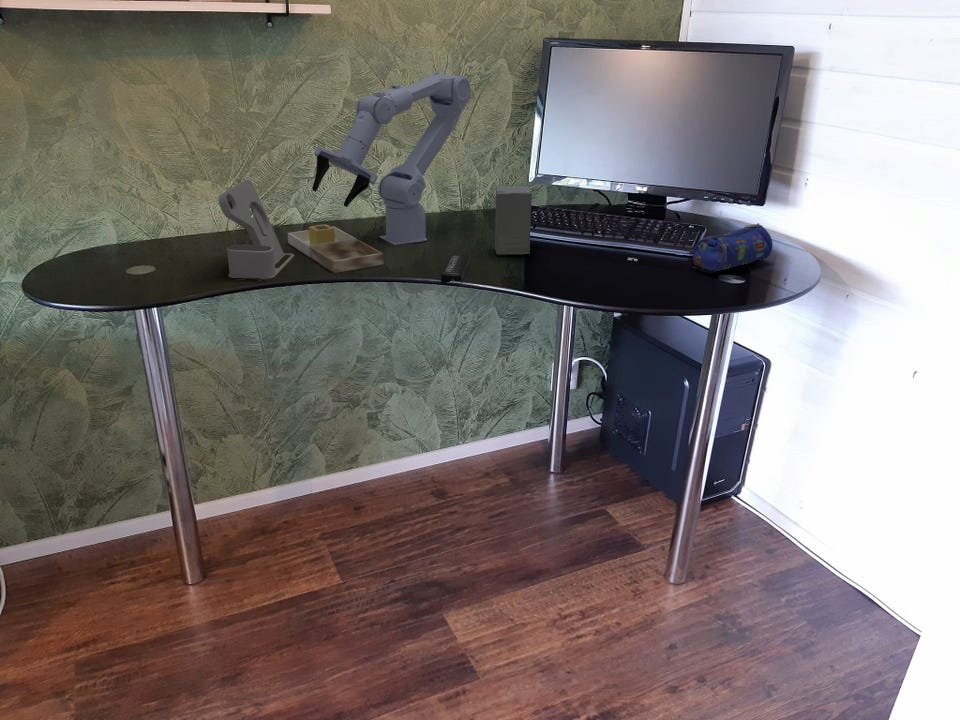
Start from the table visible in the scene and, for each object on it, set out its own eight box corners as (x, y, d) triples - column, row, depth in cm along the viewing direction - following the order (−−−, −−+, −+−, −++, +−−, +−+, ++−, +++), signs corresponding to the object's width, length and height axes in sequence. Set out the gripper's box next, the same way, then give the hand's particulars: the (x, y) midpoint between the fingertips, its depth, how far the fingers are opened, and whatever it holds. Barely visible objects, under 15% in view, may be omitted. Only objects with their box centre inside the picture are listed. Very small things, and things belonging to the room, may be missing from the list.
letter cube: (327, 242, 188) (326, 223, 186) (335, 247, 184) (334, 228, 182) (309, 244, 185) (308, 226, 183) (317, 249, 182) (316, 231, 180)
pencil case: (742, 254, 192) (749, 217, 188) (772, 263, 186) (780, 225, 182) (687, 270, 180) (693, 230, 175) (718, 281, 174) (725, 239, 169)
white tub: (334, 238, 193) (334, 226, 192) (357, 251, 184) (356, 238, 183) (288, 245, 186) (287, 233, 185) (309, 258, 177) (308, 246, 176)
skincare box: (527, 249, 190) (531, 184, 183) (529, 258, 183) (534, 191, 177) (493, 248, 190) (495, 183, 183) (494, 257, 183) (497, 190, 176)
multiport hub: (469, 264, 179) (469, 255, 178) (461, 286, 166) (461, 275, 165) (450, 263, 179) (450, 254, 178) (440, 284, 166) (440, 274, 165)
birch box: (358, 251, 183) (358, 239, 182) (383, 266, 174) (383, 253, 173) (310, 259, 177) (310, 247, 176) (334, 275, 168) (333, 261, 167)
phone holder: (272, 281, 163) (264, 197, 155) (225, 279, 164) (215, 194, 156) (296, 256, 179) (290, 178, 171) (253, 254, 179) (245, 176, 172)
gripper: (325, 123, 168) (297, 177, 167) (385, 153, 169) (358, 207, 168) (328, 135, 175) (301, 187, 174) (386, 163, 176) (359, 215, 175)
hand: (329, 197), depth 171 cm, fingers open, 7 cm apart
